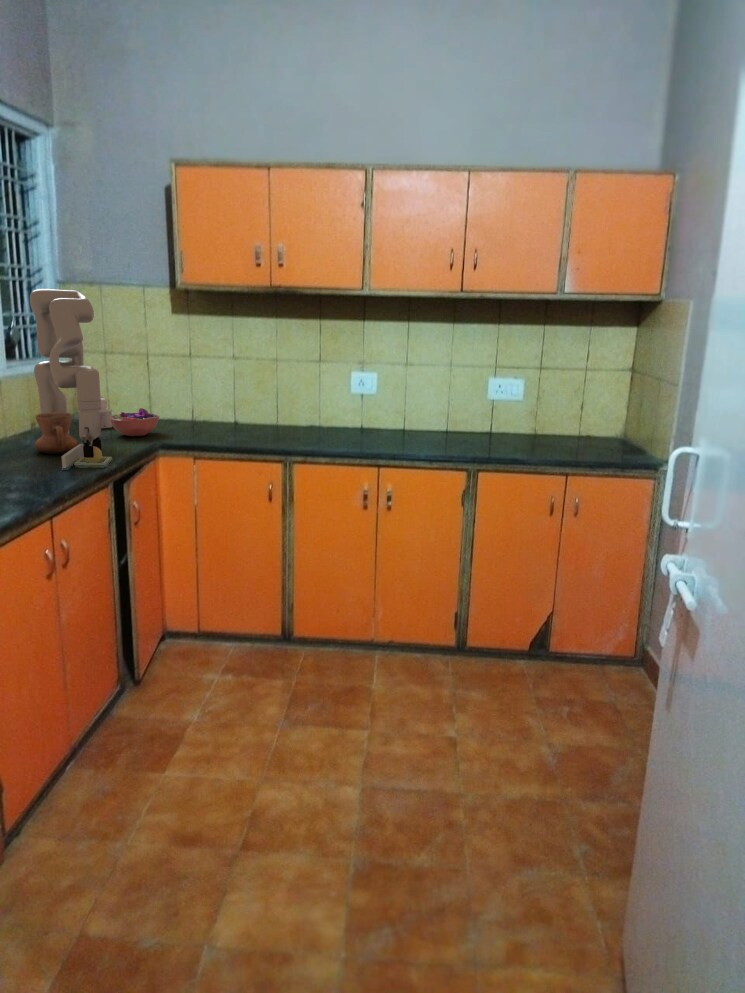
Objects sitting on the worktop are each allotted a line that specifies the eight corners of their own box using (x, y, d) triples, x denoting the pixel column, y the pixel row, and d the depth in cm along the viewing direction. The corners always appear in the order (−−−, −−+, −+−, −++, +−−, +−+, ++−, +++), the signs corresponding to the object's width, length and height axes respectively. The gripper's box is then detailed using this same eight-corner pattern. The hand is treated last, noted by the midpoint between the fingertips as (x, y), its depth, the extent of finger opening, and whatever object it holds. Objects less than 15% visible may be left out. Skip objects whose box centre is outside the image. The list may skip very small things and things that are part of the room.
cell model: (104, 434, 289) (103, 407, 286) (150, 430, 302) (149, 404, 299) (120, 441, 277) (118, 414, 274) (167, 436, 290) (165, 410, 287)
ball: (87, 460, 242) (85, 444, 240) (104, 461, 243) (103, 444, 241) (82, 465, 236) (80, 448, 234) (100, 465, 237) (98, 448, 235)
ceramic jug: (32, 449, 258) (29, 411, 254) (73, 446, 266) (71, 410, 262) (39, 459, 244) (35, 420, 240) (82, 456, 251) (79, 417, 247)
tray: (83, 461, 244) (82, 456, 243) (112, 461, 245) (111, 456, 244) (74, 468, 234) (74, 462, 234) (104, 468, 235) (104, 463, 235)
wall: (80, 457, 249) (79, 443, 248) (84, 457, 249) (83, 443, 248) (62, 470, 230) (61, 456, 229) (66, 470, 230) (65, 456, 229)
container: (88, 426, 304) (86, 397, 300) (105, 424, 309) (103, 396, 305) (95, 429, 298) (93, 399, 295) (112, 427, 303) (110, 398, 300)
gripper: (85, 401, 241) (88, 448, 246) (69, 409, 225) (73, 459, 230) (107, 401, 242) (110, 448, 247) (93, 409, 226) (97, 460, 231)
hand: (92, 454), depth 238 cm, fingers open, 9 cm apart
